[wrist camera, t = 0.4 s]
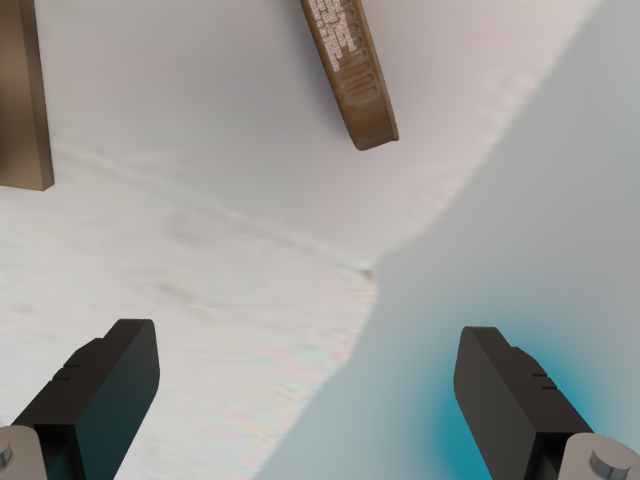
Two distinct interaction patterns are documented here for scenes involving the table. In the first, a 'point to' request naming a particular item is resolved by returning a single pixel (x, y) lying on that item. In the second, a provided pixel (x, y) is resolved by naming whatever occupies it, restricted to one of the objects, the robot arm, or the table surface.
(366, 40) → the tin
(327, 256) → the table surface
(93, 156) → the table surface
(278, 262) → the table surface
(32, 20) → the floor board
